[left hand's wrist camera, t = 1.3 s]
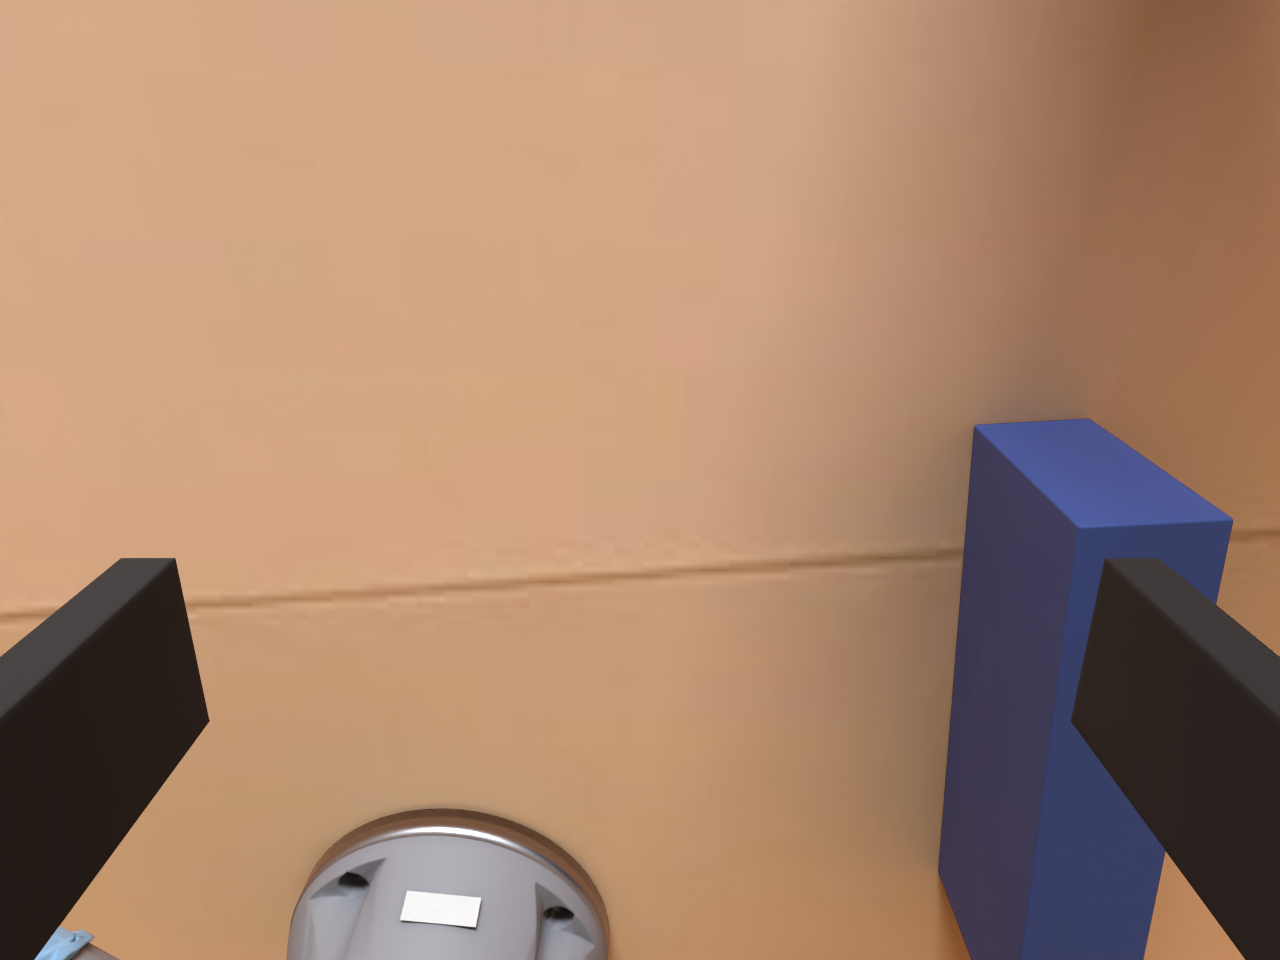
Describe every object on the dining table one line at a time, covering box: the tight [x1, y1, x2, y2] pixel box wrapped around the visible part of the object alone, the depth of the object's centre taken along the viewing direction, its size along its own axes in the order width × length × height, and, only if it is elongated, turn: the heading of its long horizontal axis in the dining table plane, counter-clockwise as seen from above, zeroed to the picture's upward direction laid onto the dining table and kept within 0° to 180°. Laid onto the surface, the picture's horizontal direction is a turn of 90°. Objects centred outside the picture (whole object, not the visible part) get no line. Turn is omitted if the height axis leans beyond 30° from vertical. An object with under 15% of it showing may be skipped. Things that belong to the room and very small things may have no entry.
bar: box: [938, 419, 1233, 960], centre depth 34 cm, size 23×4×9 cm, turn 4°
